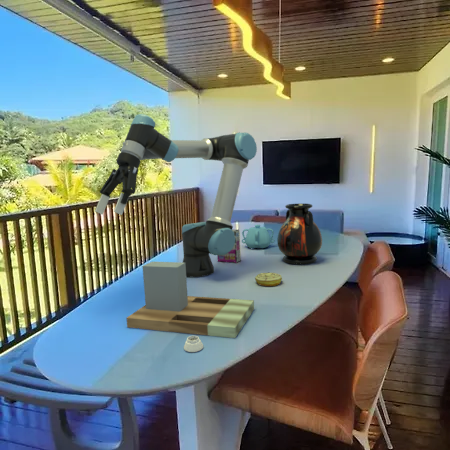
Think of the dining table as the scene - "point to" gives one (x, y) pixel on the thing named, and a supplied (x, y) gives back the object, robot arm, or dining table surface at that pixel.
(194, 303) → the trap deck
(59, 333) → the dining table surface
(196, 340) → the white jar
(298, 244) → the amphora vase
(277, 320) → the dining table surface
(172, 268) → the grey block
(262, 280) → the decorated donut
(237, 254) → the candy bar box
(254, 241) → the decorative pot
